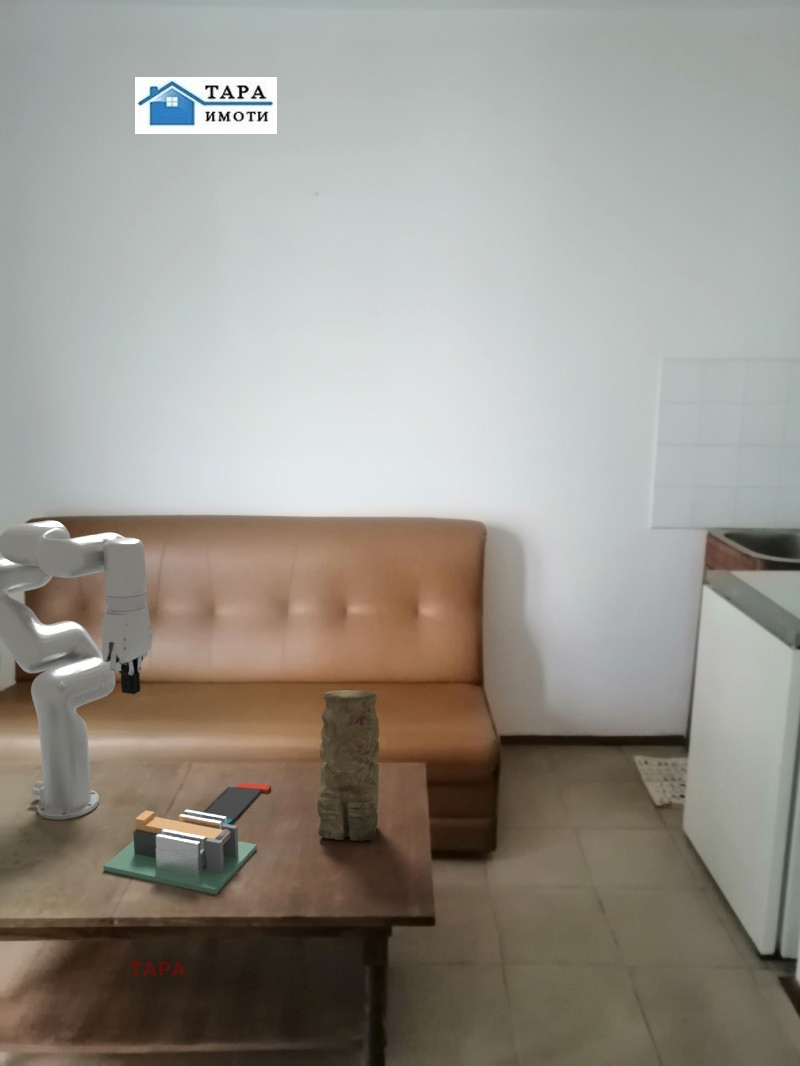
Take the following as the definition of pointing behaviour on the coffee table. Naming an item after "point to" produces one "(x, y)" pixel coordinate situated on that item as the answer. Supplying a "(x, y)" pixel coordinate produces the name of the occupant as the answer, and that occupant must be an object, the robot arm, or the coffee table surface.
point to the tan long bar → (177, 827)
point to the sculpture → (349, 766)
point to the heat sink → (186, 845)
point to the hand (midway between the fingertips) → (131, 691)
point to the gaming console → (236, 800)
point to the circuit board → (220, 869)
